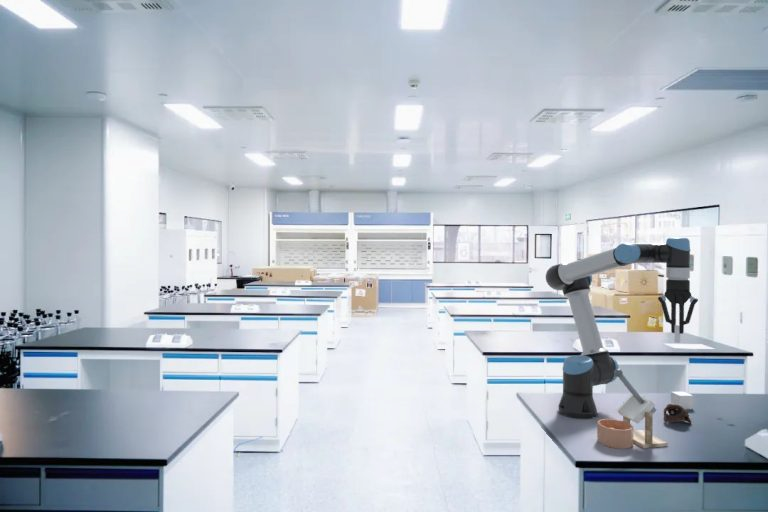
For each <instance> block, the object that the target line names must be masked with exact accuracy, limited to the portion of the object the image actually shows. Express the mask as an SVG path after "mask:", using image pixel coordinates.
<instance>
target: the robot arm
mask: <svg viewBox="0 0 768 512" xmlns="http://www.w3.org/2000/svg"><path fill="white" fill-rule="evenodd" d="M690 243H691V241H690V239H689V238H688V237H668V238H667V239H666V242H665V243H648V242H647V243H645V242H644V243H642V242H640V243H639V242H637V243H636V242H623V243H619V244H618V245H617V246H616V247H614V248H611V249H609V250H605V251H603V252H599V253H597V254H593V255H590V256H587V257H584V258H581V259H579V260H574V261H573V262H570V263H567V262H561V263H558V264H555V265H552V266H550V267H549V269H547V271H546V274H545V282H546V283H547V285H548V286H549V287H550V288H551V289H553V290H556V291H562V293H563V296H564V298H567V299H568V301H569V305H570V309H571V313H572V317H573V321H574V324H575V327H576V330H577V335H578V339H579V342H580V346H581V349H582V352H581V354H578V355H569V356H568V357H565V358H564V360H563V362H562V363H563V364H562V365H563V366H562V395H561V398H560V400H559V404H558V412H559V414H560V415H563V416H565V417H568V418H572V419H580V420H588V419H594V418H597V416H598V408H597V405H596V403H595V399H594V397H593V394H594V392H593V389H594V387H595V386H601V385H608V384H609V383H613V382H614V381H615V380H616V379H617V376H615V374H614V371H615V370H616V369H620V367H619V364H618V361H617V360H616V359H614V357H613V356H611V355H610V353H609V350H608V349H606V348H605V347H604V345H603V342H602V338H601V334H600V332H599V328H598V324H597V321H596V318H595V315H594V314H595V313H594V310H593V308H592V302H591V299H590V297H589V293H590V292H591V287H590V286H591V285H592V282H593V276H594V275H597V274H600V273H604V272H608V271H611V270H614V269H617V268H622V267H623V266H628V265H631V264H648V263H650V264H651V263H653V264H654V263H656V264H659V263H660V264H666V265H665V267H666V268H665V270H666V271H665V278H667V279H666V280H665V282H666V283H665V292H664V294H663V295H661V296H658V297H657V300H658V301H659V302H660V304H661V308H662V312H663V315H664V316H663V317H664V320H665V322H666V323H668V324H670V326H671V328H670V329H671V330H670V332H671V333H672V334H674V343H677V344H680V343H681V335H682V334H684V332H685V331H684V329H685V325H688V324H690V322H691V319H692V315H693V312H694V309H695V305H696V304H697V303H698V302H699V299H698V298H696V297H694V296H693V295H692V293H691V291H690V290H691V288H690V287H691V282H690V280H689V279H690V277H691V273H690V272H691V271H690V270H691V265H690V260H691V259H690V258H691V256H690V255H691V245H690ZM666 300H668V302H669V303H670V307H671V308H670V314H671V317H670V314H669V311H668V305H667V302H666ZM688 301H689V303H690V304H689V307H688V311H687V315H686V317H685V304H686V303H687V302H688ZM677 304H678V306H679V308H678V309H679V311H678V315H679V316H678V317H679V319H678V323H677ZM684 318H685V319H684Z"/></svg>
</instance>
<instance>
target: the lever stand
mask: <svg viewBox="0 0 768 512" xmlns="http://www.w3.org/2000/svg"><path fill="white" fill-rule="evenodd" d="M624 402H625V401H623V402H622V404H623V403H624ZM653 415H654V414H653V413H651V412H645V417H644V430H643V429H633V444H635V445H637V446H639V447H641V448H643V449H650V448H649V447H652V448H662V447H668V442H666V441H665V440H663V439H660V438H659V437H657V436H655V435H653V431H654V430H653V425H654V424H653V418H654V416H653ZM622 421H624V422H627V423H629V424H631V420H630V419H628V418H626V417H624V416H622Z"/></svg>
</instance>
